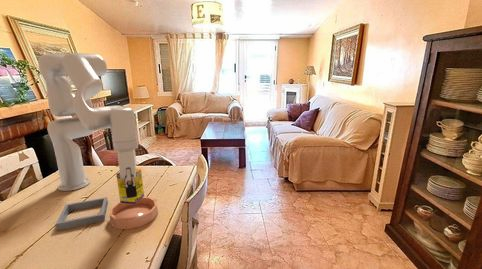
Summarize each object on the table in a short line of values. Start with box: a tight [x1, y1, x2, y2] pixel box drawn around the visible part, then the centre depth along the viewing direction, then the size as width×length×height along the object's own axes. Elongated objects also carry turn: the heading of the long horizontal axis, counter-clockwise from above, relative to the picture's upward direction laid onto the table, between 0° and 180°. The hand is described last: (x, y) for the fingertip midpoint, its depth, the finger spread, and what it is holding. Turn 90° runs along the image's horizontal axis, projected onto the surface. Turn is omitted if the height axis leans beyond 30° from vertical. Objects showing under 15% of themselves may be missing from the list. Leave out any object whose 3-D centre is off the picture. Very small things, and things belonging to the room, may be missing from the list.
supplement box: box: [116, 167, 145, 204], centre depth 87 cm, size 6×6×11 cm
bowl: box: [108, 196, 159, 230], centre depth 90 cm, size 16×16×4 cm
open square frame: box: [55, 196, 109, 232], centre depth 91 cm, size 14×14×2 cm
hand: (132, 191), depth 88 cm, fingers closed on supplement box, 8 cm apart
